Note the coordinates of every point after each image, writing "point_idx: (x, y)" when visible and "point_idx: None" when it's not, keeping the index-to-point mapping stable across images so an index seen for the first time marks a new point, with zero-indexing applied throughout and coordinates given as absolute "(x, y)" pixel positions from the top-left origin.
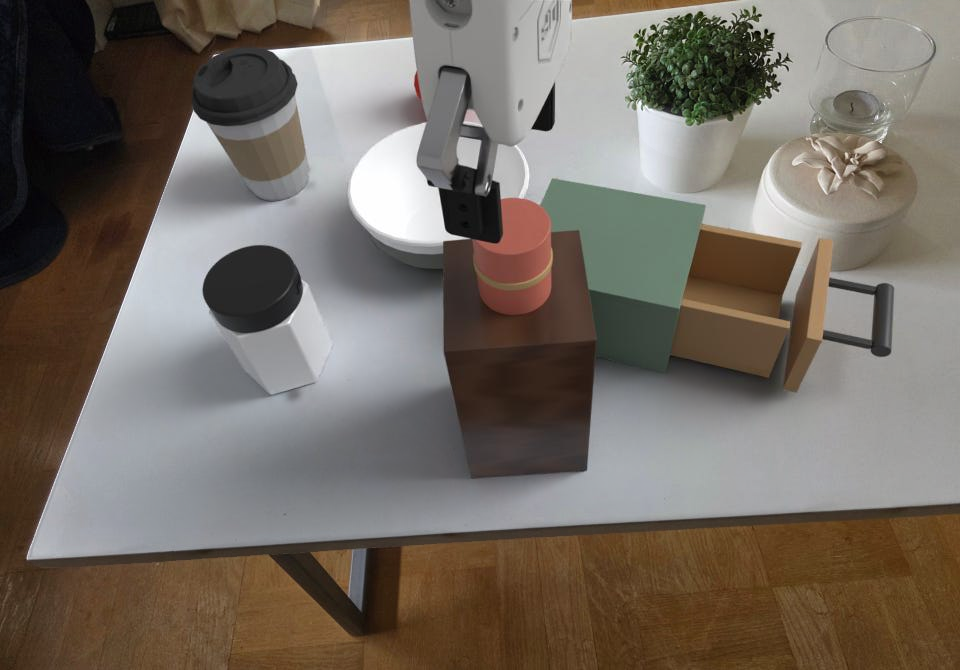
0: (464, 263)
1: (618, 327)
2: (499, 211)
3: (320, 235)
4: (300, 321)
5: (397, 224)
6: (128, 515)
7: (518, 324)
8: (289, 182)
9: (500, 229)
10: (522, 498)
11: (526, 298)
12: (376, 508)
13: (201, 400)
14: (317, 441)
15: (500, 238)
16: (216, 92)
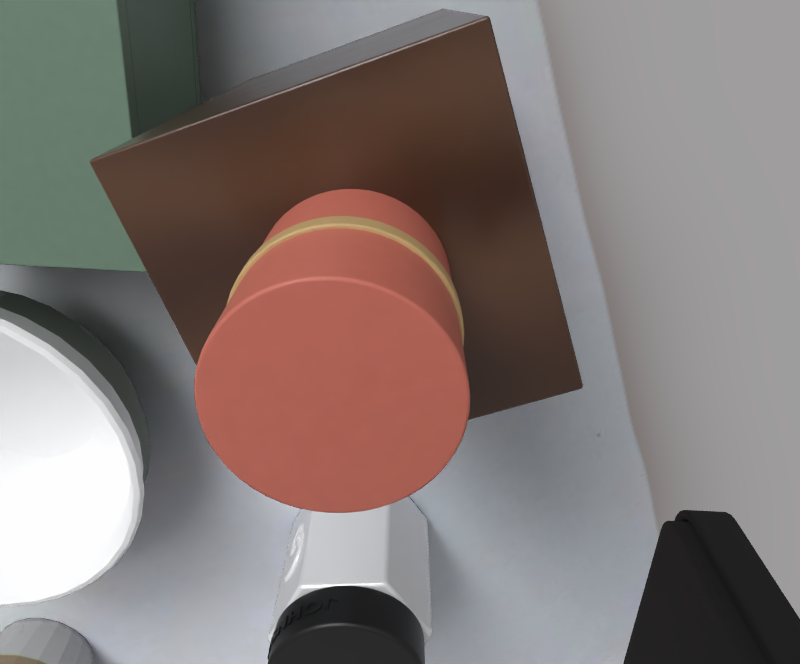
0: None
1: (158, 3)
2: (797, 653)
3: (125, 563)
4: (360, 562)
5: (57, 473)
6: (626, 595)
7: (475, 244)
8: (53, 649)
9: (750, 559)
10: (517, 112)
11: (437, 252)
12: (571, 325)
13: (455, 590)
14: (483, 437)
15: (728, 521)
16: None
